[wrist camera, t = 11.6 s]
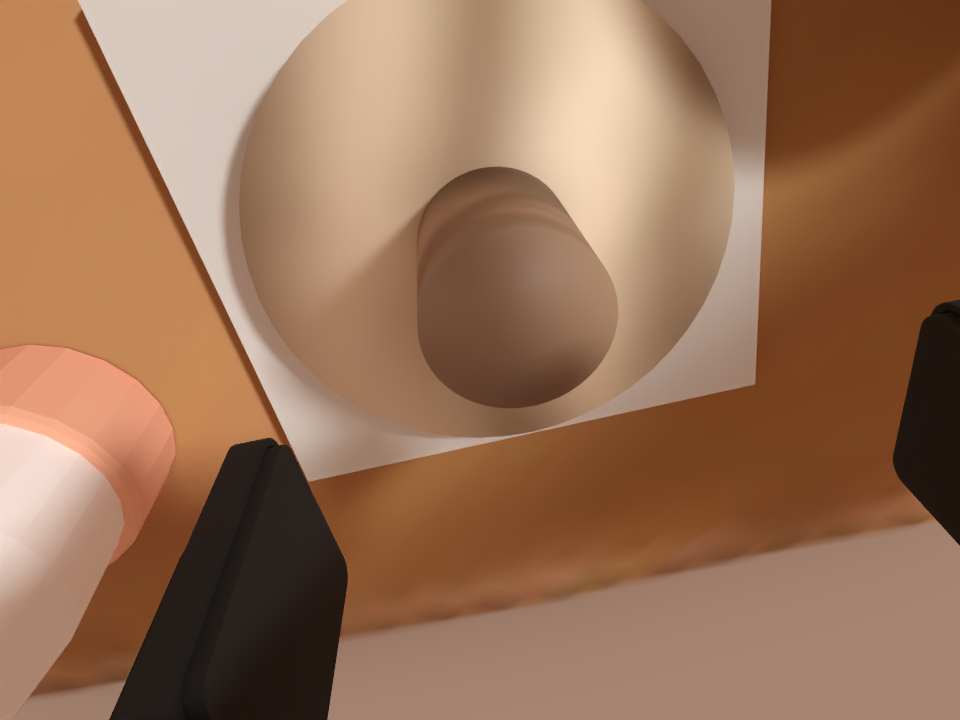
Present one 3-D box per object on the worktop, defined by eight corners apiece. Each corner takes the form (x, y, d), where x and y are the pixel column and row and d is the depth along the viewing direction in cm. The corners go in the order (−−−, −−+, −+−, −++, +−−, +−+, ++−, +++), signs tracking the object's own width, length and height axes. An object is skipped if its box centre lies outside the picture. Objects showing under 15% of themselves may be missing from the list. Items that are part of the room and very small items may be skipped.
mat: (766, -168, 15) (778, -173, 14) (747, 375, 23) (755, 384, 23) (88, -1, 15) (77, -1, 15) (310, 471, 24) (308, 481, 23)
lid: (716, -108, 15) (883, -161, 10) (717, 369, 22) (812, 488, 17) (159, 29, 15) (22, 50, 10) (340, 453, 23) (317, 594, 17)
